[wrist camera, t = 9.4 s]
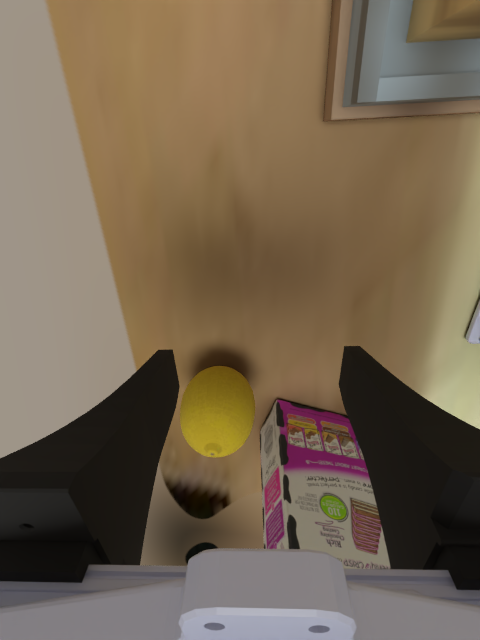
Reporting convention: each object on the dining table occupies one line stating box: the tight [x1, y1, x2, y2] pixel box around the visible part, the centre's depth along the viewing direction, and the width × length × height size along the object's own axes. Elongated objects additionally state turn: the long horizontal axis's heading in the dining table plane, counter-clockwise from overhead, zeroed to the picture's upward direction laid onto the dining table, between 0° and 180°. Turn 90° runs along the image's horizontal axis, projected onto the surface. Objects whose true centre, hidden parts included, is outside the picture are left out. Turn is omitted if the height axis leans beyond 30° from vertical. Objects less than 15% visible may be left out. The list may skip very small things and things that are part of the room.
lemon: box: [180, 366, 255, 457], centre depth 24 cm, size 6×6×8 cm
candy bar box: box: [260, 399, 391, 569], centre depth 23 cm, size 11×5×16 cm, turn 73°
